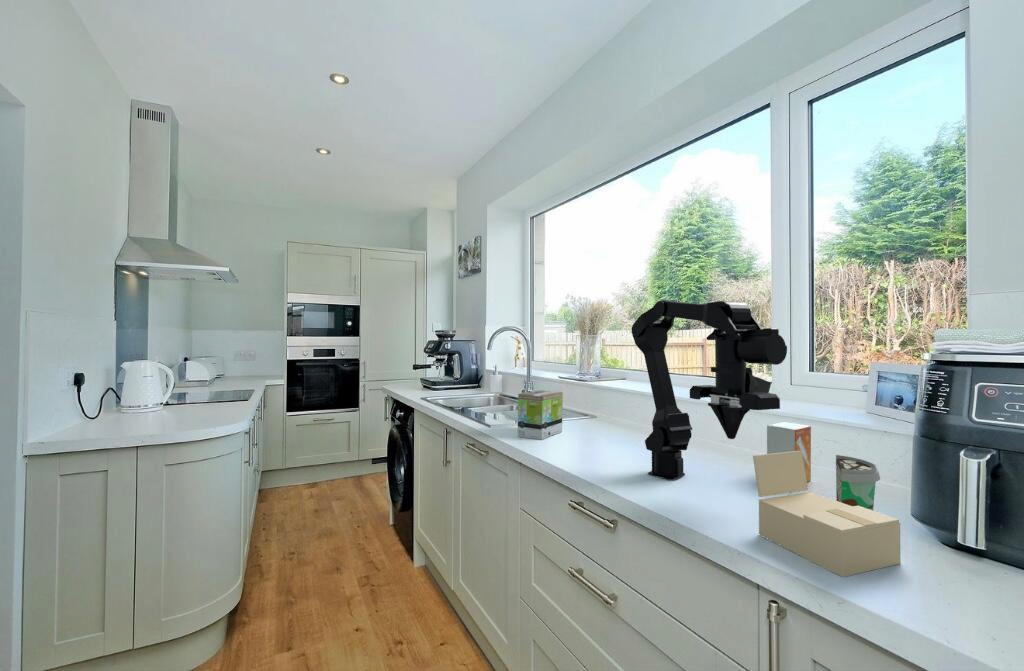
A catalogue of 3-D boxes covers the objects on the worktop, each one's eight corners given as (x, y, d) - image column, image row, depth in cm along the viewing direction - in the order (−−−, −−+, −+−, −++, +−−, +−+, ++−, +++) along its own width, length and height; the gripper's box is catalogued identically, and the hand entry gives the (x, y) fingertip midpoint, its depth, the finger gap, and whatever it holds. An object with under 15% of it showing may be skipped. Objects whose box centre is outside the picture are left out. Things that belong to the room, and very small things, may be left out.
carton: (758, 534, 76) (758, 496, 76) (811, 525, 79) (811, 488, 79) (842, 577, 62) (842, 530, 62) (900, 563, 66) (900, 519, 66)
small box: (795, 487, 99) (795, 429, 100) (766, 480, 105) (765, 424, 105) (812, 481, 104) (811, 425, 104) (783, 474, 109) (783, 421, 109)
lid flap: (761, 496, 76) (758, 496, 77) (808, 490, 79) (805, 489, 80) (755, 455, 77) (752, 455, 78) (801, 450, 80) (798, 450, 81)
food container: (886, 533, 76) (886, 475, 76) (841, 525, 79) (841, 469, 80) (874, 509, 87) (874, 458, 87) (835, 503, 90) (835, 454, 90)
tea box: (542, 440, 145) (542, 395, 146) (516, 437, 151) (516, 393, 151) (563, 432, 158) (563, 390, 158) (538, 429, 164) (538, 389, 164)
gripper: (802, 363, 85) (803, 446, 84) (728, 359, 102) (729, 427, 102) (755, 365, 81) (756, 450, 81) (687, 360, 99) (688, 430, 99)
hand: (731, 438), depth 91 cm, fingers closed
